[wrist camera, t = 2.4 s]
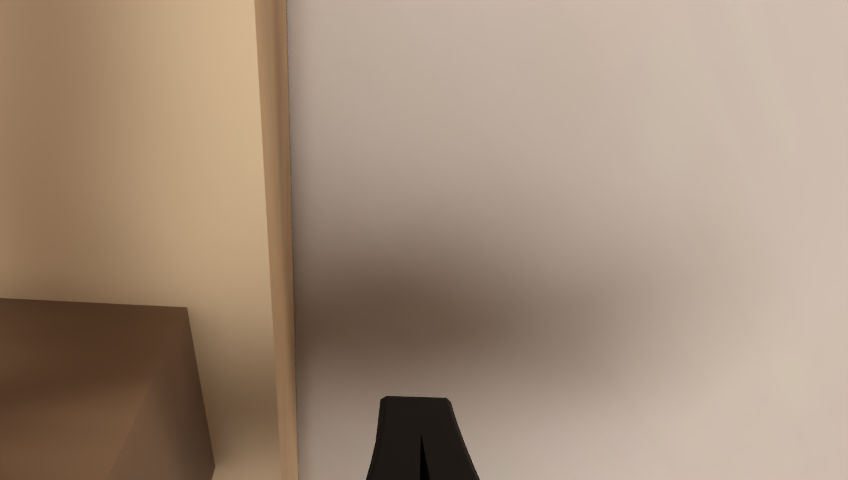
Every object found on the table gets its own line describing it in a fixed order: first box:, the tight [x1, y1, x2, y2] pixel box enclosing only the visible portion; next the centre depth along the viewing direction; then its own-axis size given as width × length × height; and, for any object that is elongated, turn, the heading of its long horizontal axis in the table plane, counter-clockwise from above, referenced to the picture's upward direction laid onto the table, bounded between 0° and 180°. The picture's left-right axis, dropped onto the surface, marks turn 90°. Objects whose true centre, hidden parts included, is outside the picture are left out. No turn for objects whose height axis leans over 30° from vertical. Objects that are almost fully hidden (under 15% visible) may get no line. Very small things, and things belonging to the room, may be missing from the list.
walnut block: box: [0, 298, 215, 480], centre depth 9 cm, size 5×5×4 cm
